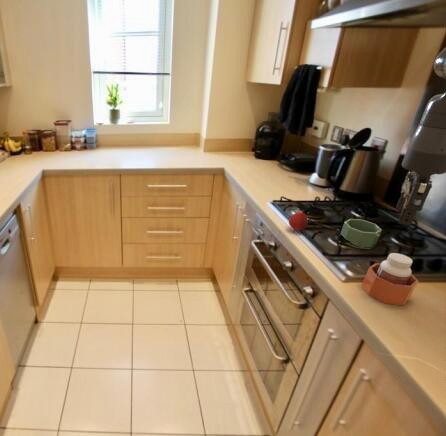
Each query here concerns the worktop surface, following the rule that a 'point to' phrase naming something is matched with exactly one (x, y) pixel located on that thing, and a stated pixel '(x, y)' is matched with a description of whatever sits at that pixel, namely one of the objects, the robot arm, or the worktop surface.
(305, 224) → the onion
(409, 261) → the pill bottle
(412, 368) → the worktop surface
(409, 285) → the terracotta pot
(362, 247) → the green pot
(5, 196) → the worktop surface
